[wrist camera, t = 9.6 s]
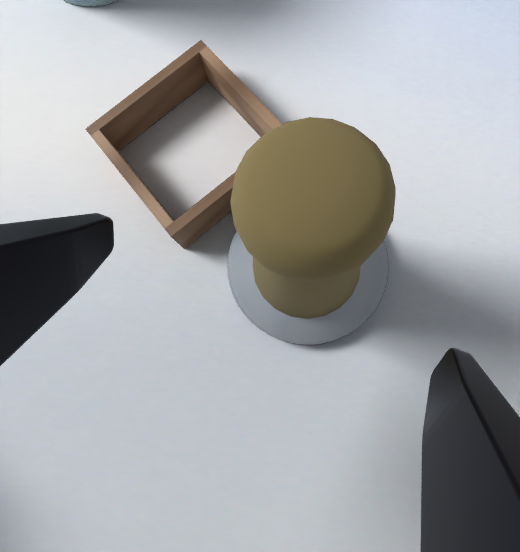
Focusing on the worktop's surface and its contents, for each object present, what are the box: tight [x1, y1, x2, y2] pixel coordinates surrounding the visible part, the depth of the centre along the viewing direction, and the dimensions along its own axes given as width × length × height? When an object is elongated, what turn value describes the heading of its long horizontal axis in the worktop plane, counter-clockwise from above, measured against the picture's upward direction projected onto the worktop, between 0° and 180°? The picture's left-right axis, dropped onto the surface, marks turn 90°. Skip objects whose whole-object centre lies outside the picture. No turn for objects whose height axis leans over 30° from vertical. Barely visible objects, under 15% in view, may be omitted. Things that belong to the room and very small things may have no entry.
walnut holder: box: [86, 40, 283, 249], centre depth 23 cm, size 9×9×2 cm
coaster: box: [228, 231, 389, 345], centre depth 22 cm, size 9×9×1 cm
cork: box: [230, 117, 395, 319], centre depth 16 cm, size 6×6×11 cm
